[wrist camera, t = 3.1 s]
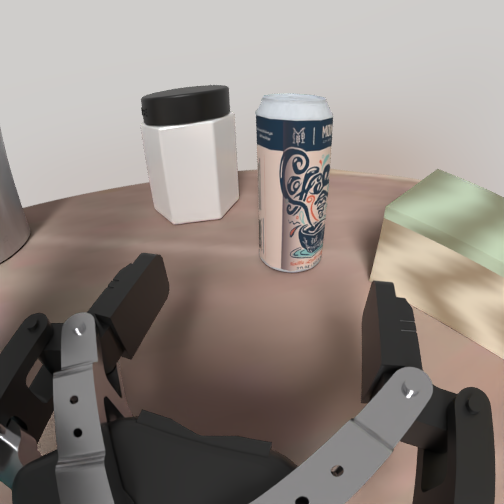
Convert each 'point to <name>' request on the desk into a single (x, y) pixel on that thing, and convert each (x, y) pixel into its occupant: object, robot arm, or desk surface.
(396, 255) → the pedestal
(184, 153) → the jar
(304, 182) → the beer can
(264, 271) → the desk surface
